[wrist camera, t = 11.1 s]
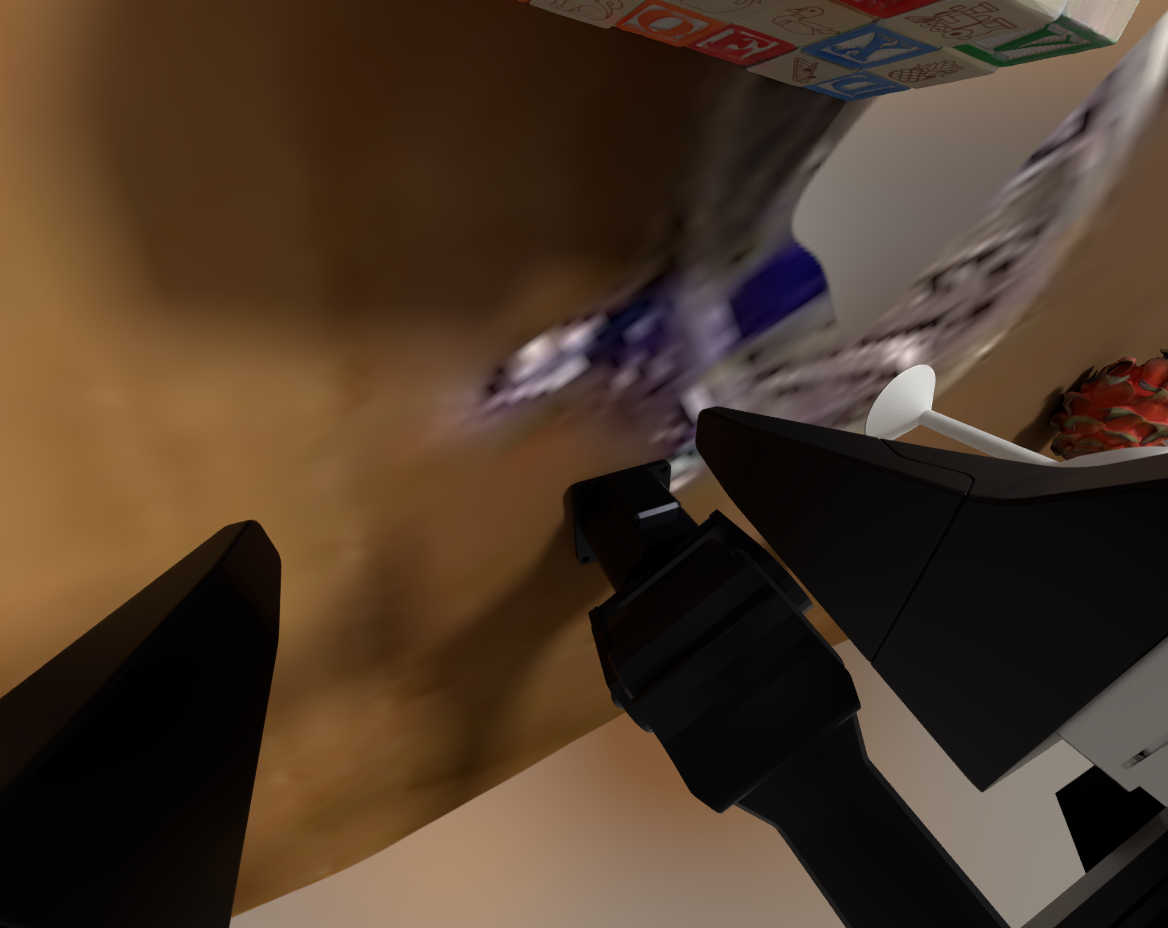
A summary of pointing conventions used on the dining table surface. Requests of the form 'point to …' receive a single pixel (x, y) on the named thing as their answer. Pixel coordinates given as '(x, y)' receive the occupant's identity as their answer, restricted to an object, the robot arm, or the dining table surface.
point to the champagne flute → (911, 407)
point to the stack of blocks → (864, 36)
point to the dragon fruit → (1115, 410)
